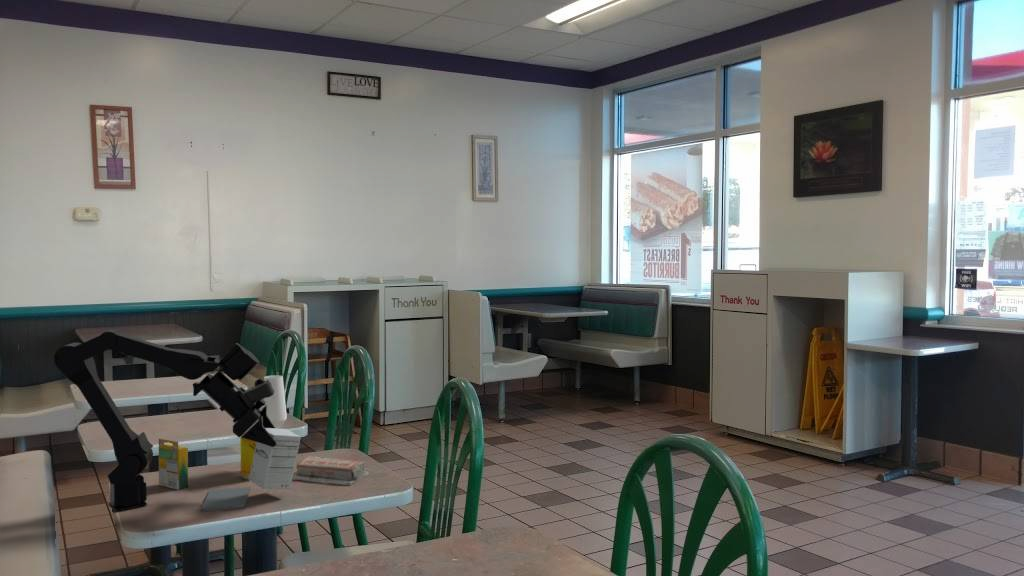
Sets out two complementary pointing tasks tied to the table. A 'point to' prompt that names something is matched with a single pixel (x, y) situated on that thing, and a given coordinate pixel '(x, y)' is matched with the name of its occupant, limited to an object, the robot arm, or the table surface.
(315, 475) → the packaged product
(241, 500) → the mat
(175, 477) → the crayon box
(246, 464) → the beer can
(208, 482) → the table surface
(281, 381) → the champagne flute
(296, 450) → the supplement box
